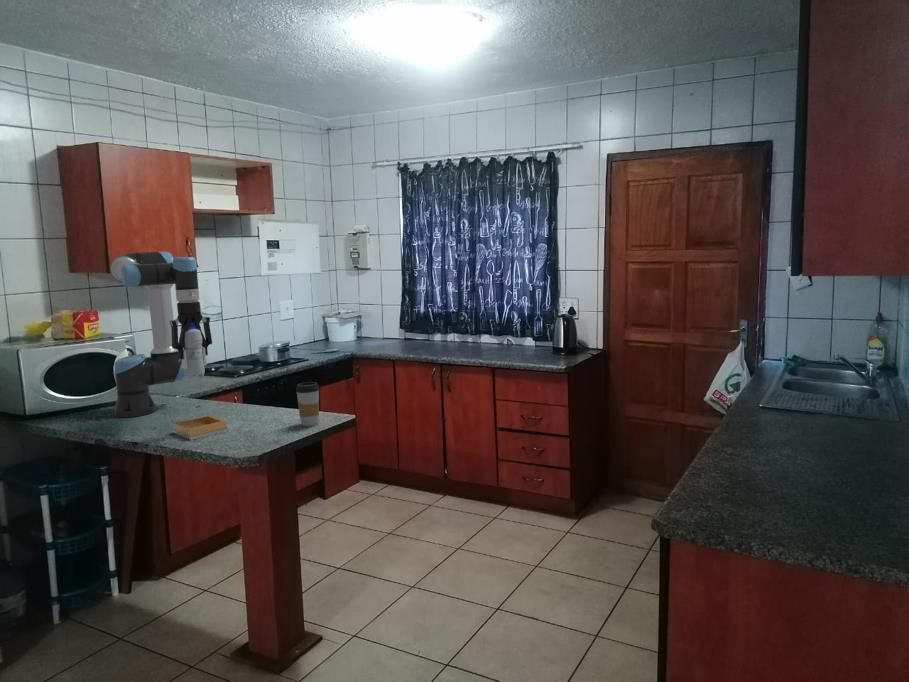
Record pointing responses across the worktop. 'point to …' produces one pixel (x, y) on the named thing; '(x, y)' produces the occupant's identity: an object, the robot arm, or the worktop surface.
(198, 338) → the bottle
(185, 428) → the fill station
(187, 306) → the robot arm
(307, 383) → the coffee cup
